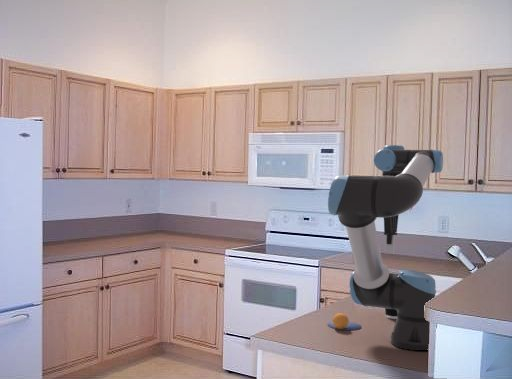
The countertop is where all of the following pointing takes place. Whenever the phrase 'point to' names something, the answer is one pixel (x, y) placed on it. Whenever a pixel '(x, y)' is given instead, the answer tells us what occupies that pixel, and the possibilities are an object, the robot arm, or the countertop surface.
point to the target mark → (349, 327)
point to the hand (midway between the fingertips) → (389, 252)
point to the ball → (340, 321)
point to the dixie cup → (391, 313)
